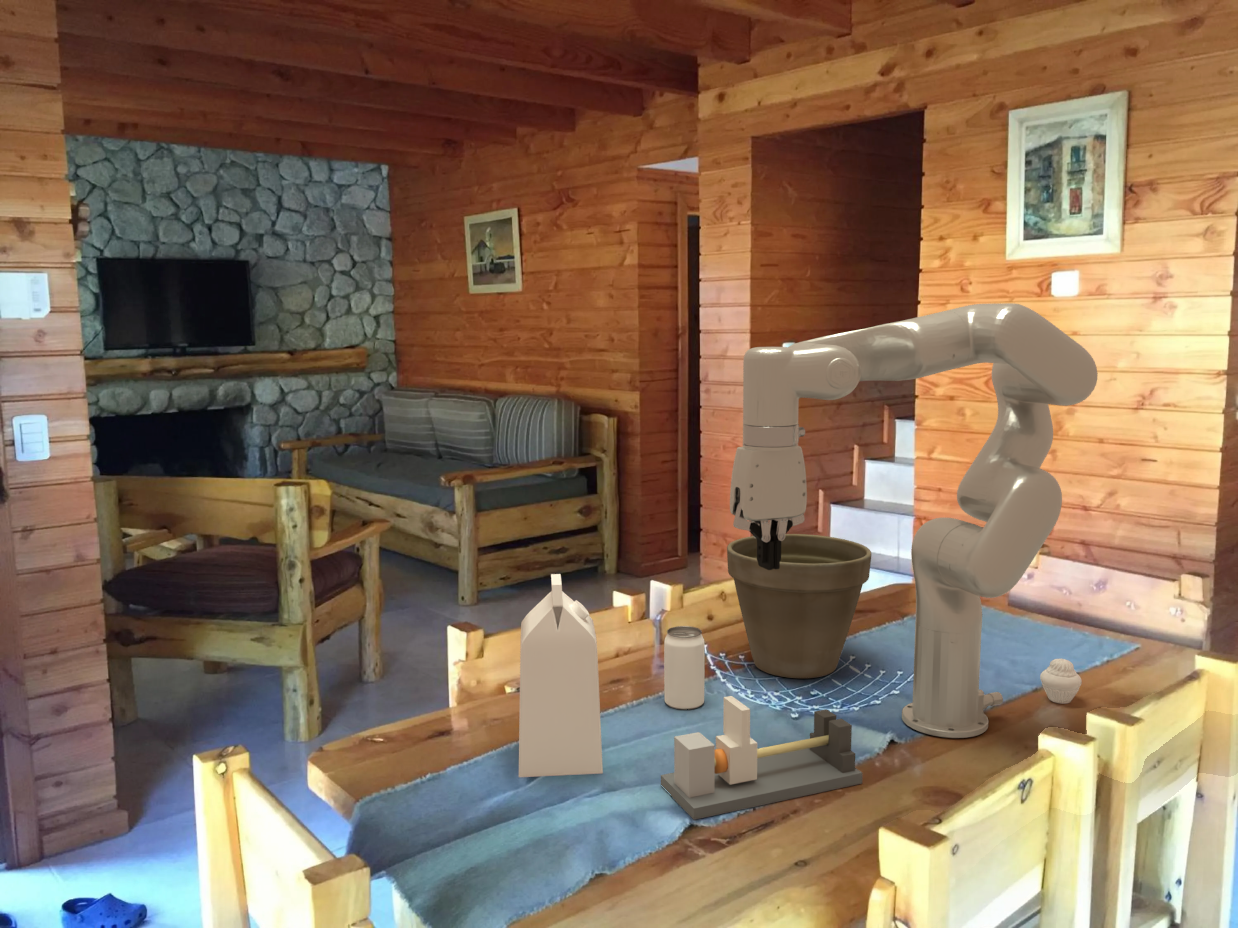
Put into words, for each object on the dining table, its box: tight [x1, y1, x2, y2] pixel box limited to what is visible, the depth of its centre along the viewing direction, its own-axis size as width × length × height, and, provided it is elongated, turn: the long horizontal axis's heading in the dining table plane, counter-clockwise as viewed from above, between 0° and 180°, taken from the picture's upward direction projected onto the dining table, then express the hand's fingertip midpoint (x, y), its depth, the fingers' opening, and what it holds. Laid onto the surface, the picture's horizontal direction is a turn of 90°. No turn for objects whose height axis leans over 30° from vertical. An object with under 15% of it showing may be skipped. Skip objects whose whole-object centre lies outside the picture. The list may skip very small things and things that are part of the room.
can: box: [663, 625, 706, 711], centre depth 163 cm, size 6×6×12 cm
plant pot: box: [726, 533, 872, 679], centre depth 179 cm, size 25×25×22 cm
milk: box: [518, 573, 604, 778], centre depth 142 cm, size 12×12×26 cm
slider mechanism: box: [660, 708, 863, 821], centre depth 134 cm, size 25×10×8 cm, turn 112°
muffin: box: [1039, 658, 1083, 705], centre depth 163 cm, size 6×6×7 cm
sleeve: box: [715, 695, 758, 785], centre depth 133 cm, size 4×5×10 cm
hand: (768, 567), depth 141 cm, fingers closed
